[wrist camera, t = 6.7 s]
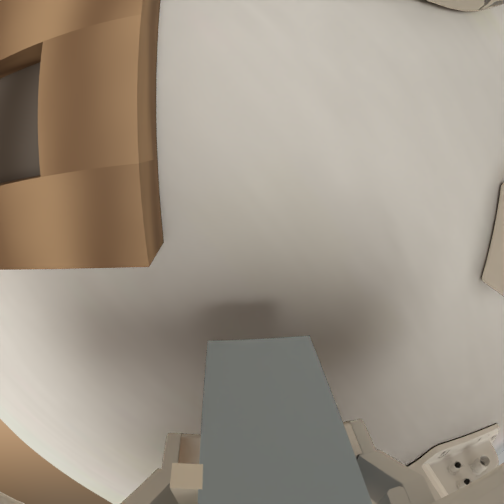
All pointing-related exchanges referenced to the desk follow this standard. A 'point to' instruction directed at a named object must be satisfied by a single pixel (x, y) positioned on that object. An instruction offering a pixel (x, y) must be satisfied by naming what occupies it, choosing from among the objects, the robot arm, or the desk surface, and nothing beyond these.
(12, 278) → the desk surface
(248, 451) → the key block
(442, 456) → the robot arm
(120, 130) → the wooden socket board
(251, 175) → the desk surface
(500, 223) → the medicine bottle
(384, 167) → the desk surface
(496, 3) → the planter
